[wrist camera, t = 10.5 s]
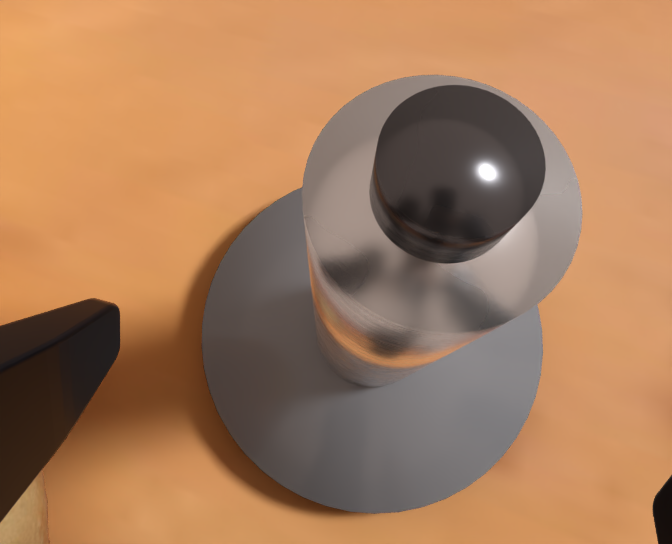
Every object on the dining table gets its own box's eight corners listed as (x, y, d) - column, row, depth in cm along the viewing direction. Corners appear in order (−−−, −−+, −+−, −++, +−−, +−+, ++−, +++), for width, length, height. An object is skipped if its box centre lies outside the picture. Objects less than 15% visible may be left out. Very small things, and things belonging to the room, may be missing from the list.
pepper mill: (322, 393, 20) (317, 337, 6) (310, 282, 21) (283, 37, 8) (437, 379, 20) (665, 296, 7) (418, 270, 22) (577, 11, 8)
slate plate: (216, 530, 20) (210, 537, 18) (201, 201, 24) (194, 189, 22) (566, 484, 20) (580, 487, 19) (494, 172, 24) (503, 159, 23)
